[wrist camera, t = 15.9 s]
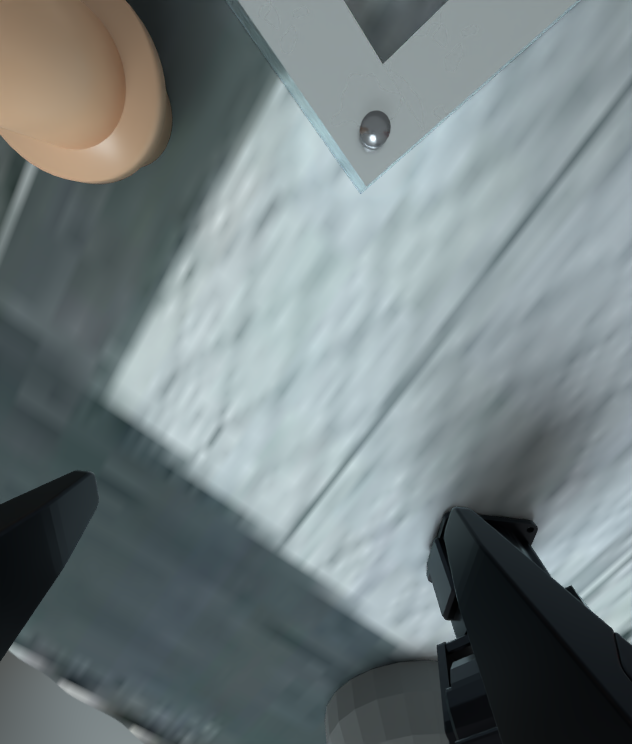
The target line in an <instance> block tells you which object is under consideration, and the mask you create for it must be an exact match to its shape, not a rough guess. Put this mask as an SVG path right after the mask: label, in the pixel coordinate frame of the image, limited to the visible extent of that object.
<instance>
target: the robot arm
mask: <svg viewBox="0 0 632 744" xmlns="http://www.w3.org/2000/svg"><path fill="white" fill-rule="evenodd" d="M98 503H99V494H98V488H97V482H96V477H95V474H94V473H93V472H90V471H80V470H77V471H73V472H71V473H69V474H66V475H64V476H62V477H60V478H57V479H55V480H53V481H51V482H49V483H46V484H44V485H42V486H40V487H38V488H35V489H33V490H31V491H29V492H27V493H24V494H22V495H20V496H18V497H16V498H13V499H11V500H9V501H7V502H4V503H2V504H0V661H1V660H2V658H3V657H4V655H5V654H6V652H7V651H8V649H9V648H10V646H11V645H12V643H13V642H14V640H15V639H16V637H17V636H18V634H19V633H20V632H21V630H22V629H23V627H24V626H25V624H26V623H27V621H28V620H29V618H30V617H31V615H32V614H33V612H34V611H35V609H36V608H37V606H38V605H39V604H40V602H41V601H42V599H43V598H44V596H45V595H46V593H47V592H48V590H49V589H50V587H51V586H52V584H53V583H54V581H55V580H56V578H57V577H58V575H59V574H60V572H61V571H62V569H63V568H64V566H65V564H66V563H67V561H68V559H69V557H70V556H71V554H72V552H73V550H74V548H75V547H76V545H77V543H78V541H79V539H80V538H81V536H82V534H83V532H84V530H85V528H86V527H87V525H88V523H89V521H90V519H91V518H92V516H93V514H94V512H95V510H96V508H97V506H98ZM529 527H530V528H529ZM537 530H538V528H537V526H536V525H535V523H534V522H533V521H531V520H523V519H514V518H504V517H495V516H485V515H478V514H476V513H475V512H474V511H473V510H471V509H470V508H463V507H454V508H453V509H452V510H451V512H448V513H446V514H445V515H444V516H443V519H442V522H441V526H440V529H439V533H438V536H437V537H436V538H435V540H434V541H433V545H432V548H431V552H430V555H429V559H428V562H427V566H428V570H427V578H428V580H429V581H430V582H431V583H433V587H434V590H435V593H436V597H437V600H438V603H439V607H440V610H441V614H442V616H443V617H444V619H445V620H451V622H452V626H453V629H454V632H455V635H456V638H457V639H455V640H452V641H450V642H448V643H446V642H443V643H441V644H439V645H437V654H438V669H439V679H440V689H441V700H442V710H443V720H444V730H445V734H446V736H447V739H448V741H449V744H632V645H631V644H630V643H629V642H628V641H626V640H625V639H624V638H623V637H622V636H620V635H619V634H618V633H614V631H613V629H612V628H611V627H610V626H608V625H607V624H606V623H605V622H604V621H603V620H601V619H600V618H599V617H598V616H597V615H595V614H594V613H593V612H592V611H591V610H590V609H589V607H588V606H587V605H586V603H585V602H584V601H583V600H582V598H581V597H580V596H579V594H578V593H577V592H576V591H575V589H574V588H573V587H572V585H571V586H569V587H567V588H564V587H562V586H561V585H560V584H559V583H558V582H557V581H555V580H554V579H553V578H552V577H551V576H550V574H549V573H548V571H547V570H546V568H545V566H544V565H543V563H542V562H541V560H540V559H539V557H538V556H537V554H536V553H535V551H534V550H533V548H532V546H531V544H532V542H533V540H534V537H535V535H536V533H537Z"/></svg>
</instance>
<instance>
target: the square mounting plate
mask: <svg viewBox="0 0 632 744" xmlns="http://www.w3.org/2000/svg"><path fill="white" fill-rule="evenodd" d="M225 1H226V2H227V4H228V5H229V7H230V8H231V9H232V11H233V12H234V14H235V15H236V17H237V18H238V19H239V21H240V22H241V24H242V25H243V27H244V28H245V29H246V31H247V32H248V34H249V35H250V37H251V38H252V39H253V41H254V42H255V44H256V45H257V47H258V48H259V49H260V51H261V52H262V54H263V55H264V57H265V58H266V60H267V61H268V62H269V64H270V65H271V67H272V68H273V70H274V71H275V72H276V74H277V75H278V77H279V78H280V80H281V81H282V82H283V84H284V85H285V87H286V88H287V90H288V91H289V92H290V94H291V95H292V97H293V98H294V100H295V101H296V102H297V104H298V105H299V107H300V108H301V110H302V111H303V113H304V114H305V115H306V117H307V118H308V120H309V121H310V123H311V124H312V125H313V127H314V128H315V130H316V131H317V133H318V134H319V135H320V137H321V138H322V140H323V141H324V143H325V144H326V145H327V147H328V148H329V150H330V151H331V153H332V154H333V155H334V157H335V158H336V160H337V161H338V163H339V164H340V166H341V167H342V168H343V170H344V171H345V173H346V174H347V176H348V177H349V178H350V180H351V181H352V183H353V184H354V186H355V187H356V188H357V190H358V191H359V193H360V194H361V193H363V192H364V191H365V190H366V189H367V188H368V187H369V186H371V185H372V184H373V183H374V182H375V181H376V180H377V179H378V178H380V177H381V176H382V175H383V174H384V173H385V172H386V171H388V170H389V169H390V168H391V167H392V166H393V165H394V164H396V163H397V162H398V161H399V160H400V159H401V158H402V157H403V156H405V155H406V154H407V153H408V152H409V151H410V150H411V149H413V148H414V147H415V146H416V145H417V144H418V143H419V142H421V141H422V140H423V139H424V138H425V137H426V136H427V135H428V134H430V133H431V132H432V131H433V130H434V129H435V128H436V127H438V126H439V125H440V124H441V123H442V122H443V121H444V120H446V119H447V118H448V117H449V116H450V115H451V114H452V113H453V112H455V111H456V110H457V109H458V108H459V107H460V106H461V105H463V104H464V103H465V102H466V101H467V100H468V99H469V98H471V97H472V96H473V95H474V94H475V93H476V92H477V91H478V90H480V89H481V88H482V87H483V86H484V85H485V84H486V83H488V82H489V81H490V80H491V79H492V78H493V77H494V76H496V75H497V74H498V73H499V72H500V71H501V70H502V69H503V68H505V67H506V66H507V65H508V64H509V63H510V62H511V61H513V60H514V59H515V58H516V57H517V56H518V55H519V54H521V53H522V52H523V51H524V50H525V49H526V48H527V47H528V46H530V45H531V44H532V43H533V42H534V41H535V40H536V39H538V38H539V37H540V36H541V35H542V34H543V33H544V32H546V31H547V30H548V29H549V28H550V27H551V26H552V25H553V24H555V23H556V22H557V21H558V20H559V19H560V18H561V17H563V16H564V15H565V14H566V13H567V12H568V11H569V10H571V9H572V8H573V7H574V6H575V5H576V4H577V3H578V2H580V1H581V0H448V1H447V2H446V3H445V4H444V5H443V6H442V7H441V8H440V9H439V10H438V11H437V12H436V13H435V14H434V15H433V16H432V17H431V18H430V19H429V20H428V21H427V22H426V23H425V24H424V25H422V26H421V27H420V28H419V29H418V30H417V31H416V32H415V33H414V34H413V35H412V36H411V37H410V38H409V39H408V40H407V41H406V42H405V43H404V44H403V45H402V46H401V47H400V48H399V49H398V50H397V51H396V52H395V53H394V54H393V55H392V56H391V57H390V58H389V59H388V60H387V61H386V62H385V63H384V64H382V62H381V60H380V59H379V57H378V55H377V54H376V52H375V50H374V49H373V47H372V46H371V44H370V42H369V41H368V39H367V37H366V36H365V34H364V32H363V31H362V29H361V28H360V26H359V24H358V23H357V21H356V19H355V18H354V16H353V14H352V13H351V11H350V10H349V8H348V6H347V5H346V3H345V1H344V0H225Z"/></svg>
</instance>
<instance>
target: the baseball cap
mask: <svg viewBox="0 0 632 744" xmlns="http://www.w3.org/2000/svg"><path fill="white" fill-rule="evenodd" d="M325 730H326V740H327V744H449V741H448V739H447V736H446V734H445V730H444V720H443V710H442V700H441V689H440V679H439V669H438V661H429V660H423V661H411V662H398V663H394V664H390V665H386V666H382V667H379V668H375V669H371V670H369V671H367V672H365V673H363V674H361V675H359V676H357V677H355V678H353V679H351V680H350V681H348V682H347V683H346V684H345V685H343V686H342V687H341V688H340V689H339V690H337V691H336V692H335V694H334V695H333V697H332V699H331V700H330V702H329V703H328V705H327V708H326V715H325Z"/></svg>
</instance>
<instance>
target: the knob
mask: <svg viewBox="0 0 632 744" xmlns="http://www.w3.org/2000/svg"><path fill="white" fill-rule="evenodd" d="M171 129H172V110H171V105H170V100H169V97H168V94H167V92H166V86H165V78H164V74H163V69H162V65H161V61H160V58H159V55H158V52H157V50H156V47H155V45H154V43H153V40H152V38H151V36H150V34H149V32H148V31H147V29H146V27H145V25H144V24H143V22H142V21H141V19H140V18H139V16H138V15H137V14H136V12H135V11H134V10H133V9H132V7H131V6H130V5H129V4H128V3H127V2H126V0H0V135H1V136H2V137H3V138H4V139H5V140H6V141H7V143H8V144H9V145H10V146H11V147H12V148H13V149H14V150H15V151H16V152H18V153H19V154H20V155H21V156H22V157H23V158H25V159H26V160H27V161H29V162H30V163H31V164H33V165H35V166H36V167H38V168H40V169H41V170H43V171H45V172H48V173H50V174H52V175H55V176H58V177H61V178H64V179H69V180H73V181H78V182H83V183H89V184H107V183H113V182H116V181H120V180H122V179H124V178H127V177H129V176H131V175H132V174H133V173H135V172H136V171H138V170H139V169H140V168H141V167H144V166H146V165H149V164H151V163H152V162H153V161H155V160H156V159H157V158H158V157H159V156H160V155H161V154H162V152H163V151H164V150H165V148H166V146H167V144H168V141H169V139H170V135H171Z"/></svg>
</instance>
